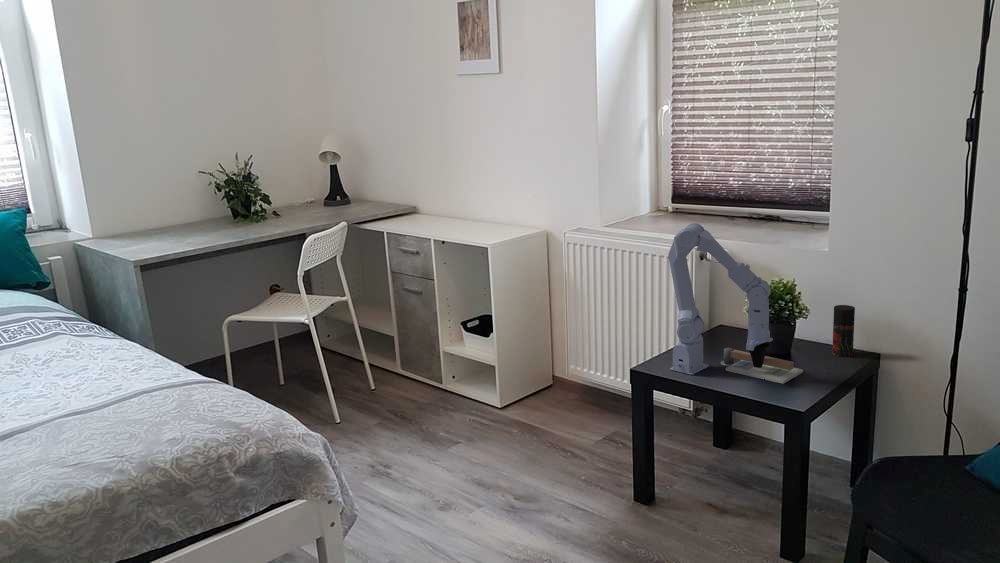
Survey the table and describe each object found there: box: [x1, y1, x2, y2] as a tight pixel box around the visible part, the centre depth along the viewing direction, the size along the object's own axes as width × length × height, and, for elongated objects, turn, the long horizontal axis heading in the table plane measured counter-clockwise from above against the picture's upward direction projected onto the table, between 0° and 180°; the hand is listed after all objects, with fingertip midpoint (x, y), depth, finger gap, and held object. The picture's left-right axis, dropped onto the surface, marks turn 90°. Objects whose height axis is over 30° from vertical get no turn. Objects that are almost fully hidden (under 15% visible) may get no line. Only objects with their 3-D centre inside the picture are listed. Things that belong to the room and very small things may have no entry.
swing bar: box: [723, 347, 795, 370], centre depth 245 cm, size 22×3×4 cm, turn 44°
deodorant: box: [831, 304, 856, 358], centre depth 253 cm, size 6×6×15 cm
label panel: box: [720, 359, 804, 384], centre depth 245 cm, size 12×24×1 cm, turn 44°
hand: (757, 366), depth 241 cm, fingers closed
